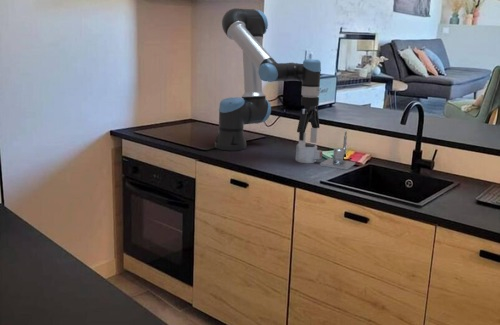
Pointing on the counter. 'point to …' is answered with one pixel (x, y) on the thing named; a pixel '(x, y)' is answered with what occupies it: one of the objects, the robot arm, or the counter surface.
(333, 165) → the square plate with knob
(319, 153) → the grey piece
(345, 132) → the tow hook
